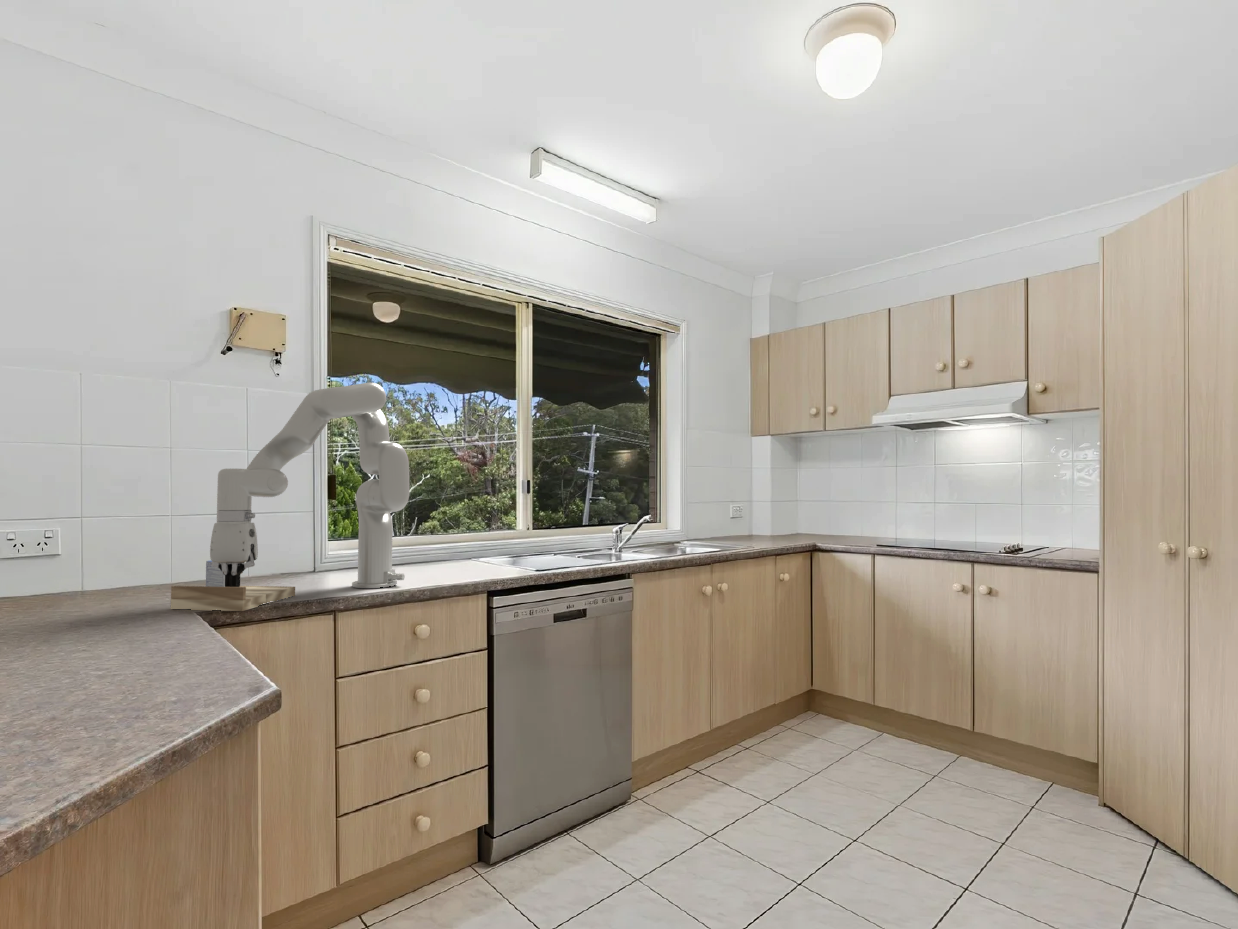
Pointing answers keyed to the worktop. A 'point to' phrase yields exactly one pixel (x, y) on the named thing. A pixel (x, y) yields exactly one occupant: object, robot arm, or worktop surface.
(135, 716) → the worktop surface
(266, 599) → the board
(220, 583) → the medicine box
